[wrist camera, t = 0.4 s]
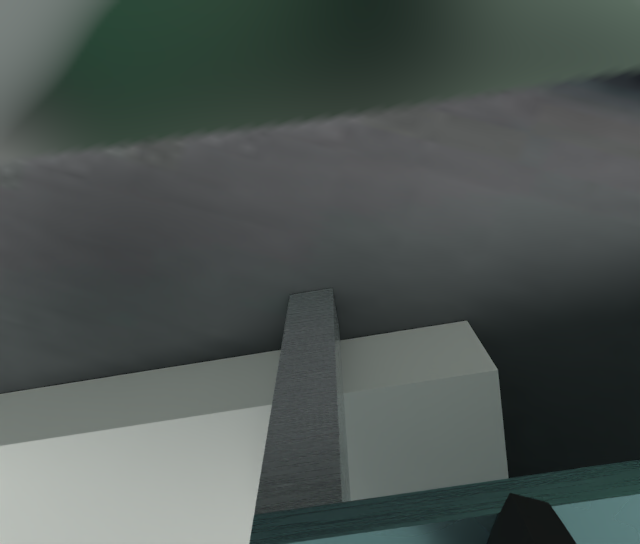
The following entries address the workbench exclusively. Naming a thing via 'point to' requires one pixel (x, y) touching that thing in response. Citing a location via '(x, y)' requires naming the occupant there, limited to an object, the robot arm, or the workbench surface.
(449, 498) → the teal topped shelf
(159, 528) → the socket block
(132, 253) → the workbench surface
